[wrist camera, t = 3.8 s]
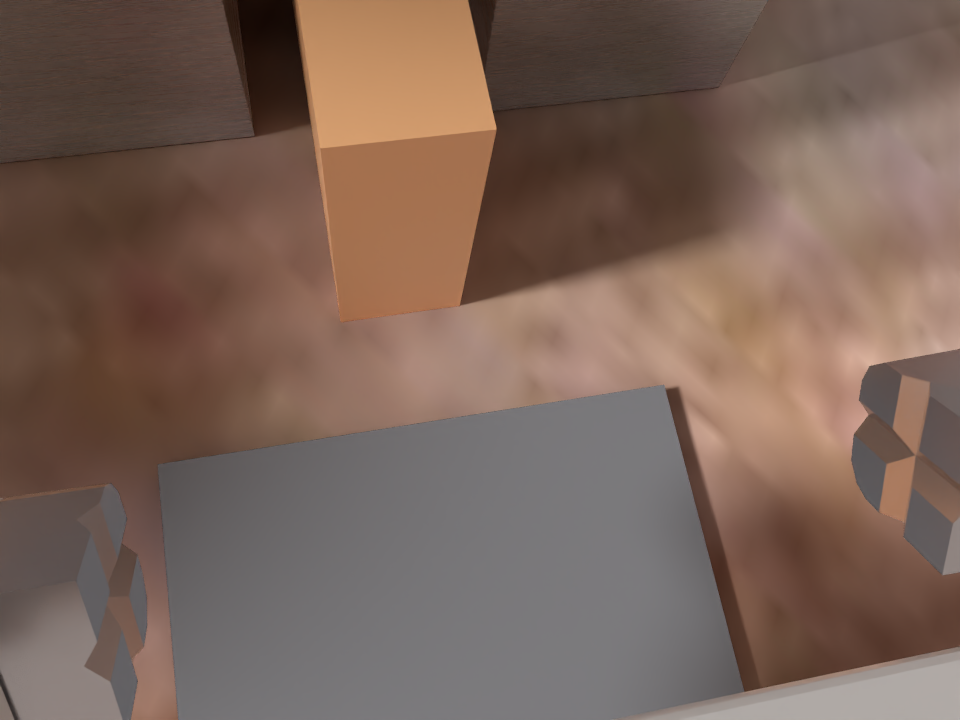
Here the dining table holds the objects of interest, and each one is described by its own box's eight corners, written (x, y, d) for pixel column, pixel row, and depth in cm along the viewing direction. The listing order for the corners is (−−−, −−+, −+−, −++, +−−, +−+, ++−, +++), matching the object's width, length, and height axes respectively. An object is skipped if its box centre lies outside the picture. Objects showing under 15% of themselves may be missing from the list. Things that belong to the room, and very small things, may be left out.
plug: (459, 306, 23) (496, 129, 16) (341, 323, 23) (320, 148, 15) (386, -69, 27) (387, -360, 19) (282, -62, 26) (242, -357, 19)
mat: (797, 931, 19) (808, 937, 19) (213, 1083, 17) (209, 1094, 17) (658, 390, 23) (664, 384, 22) (162, 468, 21) (157, 464, 20)
